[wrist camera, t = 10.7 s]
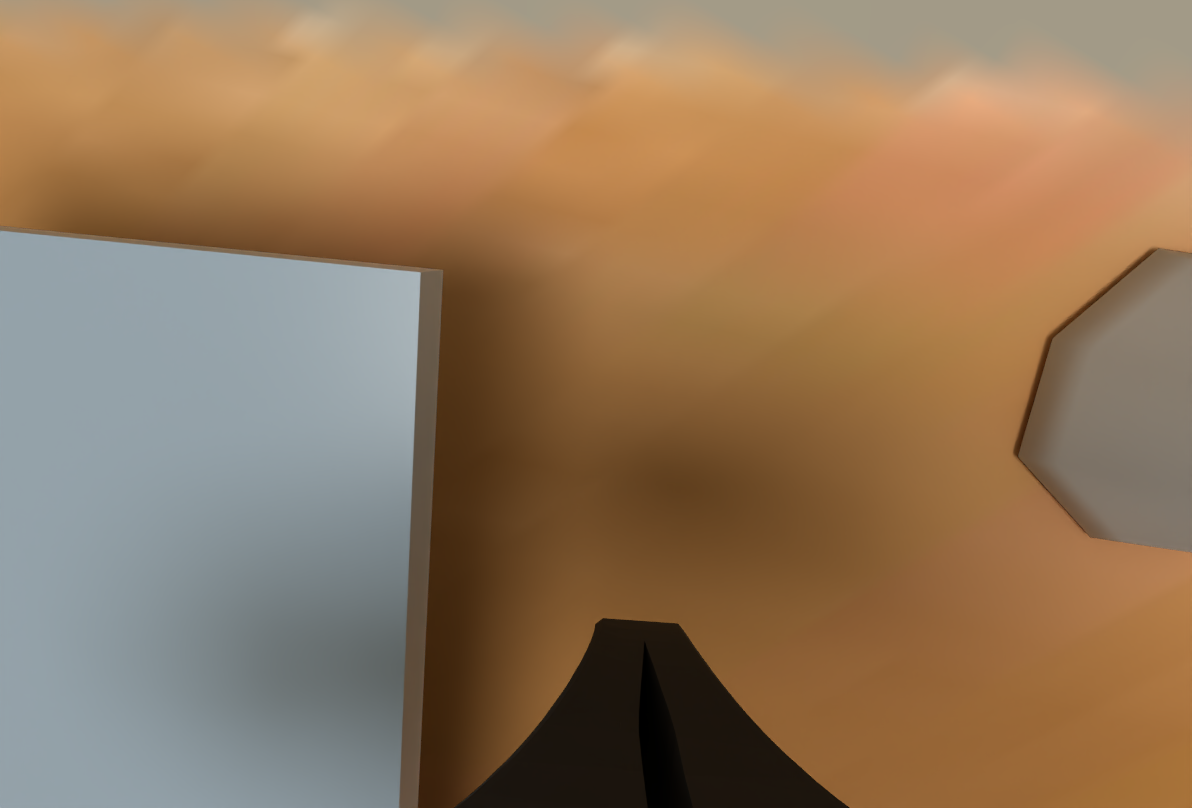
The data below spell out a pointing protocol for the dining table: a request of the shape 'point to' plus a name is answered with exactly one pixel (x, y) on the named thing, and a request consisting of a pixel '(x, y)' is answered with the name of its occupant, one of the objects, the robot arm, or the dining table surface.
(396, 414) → the cover
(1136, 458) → the flask
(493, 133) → the dining table surface
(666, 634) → the robot arm
